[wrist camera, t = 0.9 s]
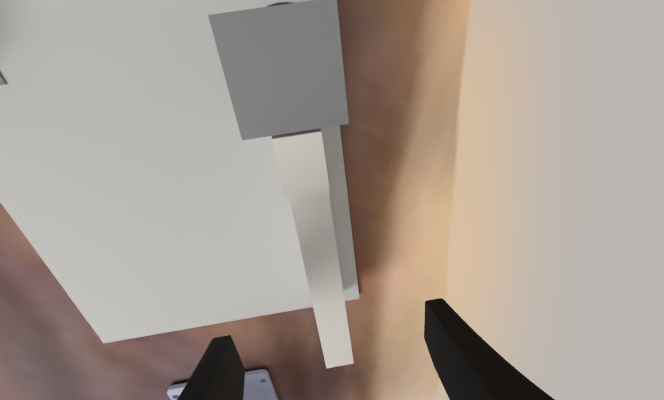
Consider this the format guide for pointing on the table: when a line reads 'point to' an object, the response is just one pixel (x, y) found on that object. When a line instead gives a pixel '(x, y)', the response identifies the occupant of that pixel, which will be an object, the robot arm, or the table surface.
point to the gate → (295, 129)
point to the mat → (148, 168)
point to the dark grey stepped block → (2, 80)
